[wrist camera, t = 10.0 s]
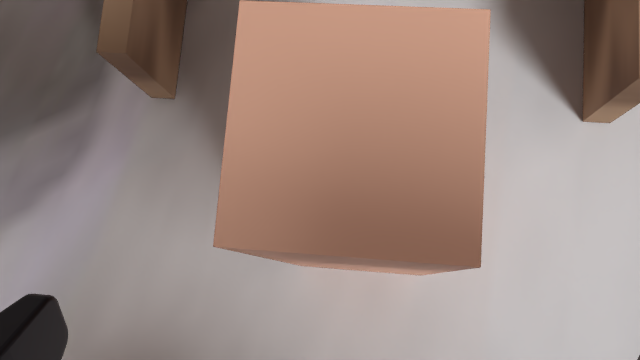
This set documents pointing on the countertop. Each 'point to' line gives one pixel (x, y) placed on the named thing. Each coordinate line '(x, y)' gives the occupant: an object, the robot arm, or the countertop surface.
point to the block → (356, 137)
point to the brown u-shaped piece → (168, 24)
